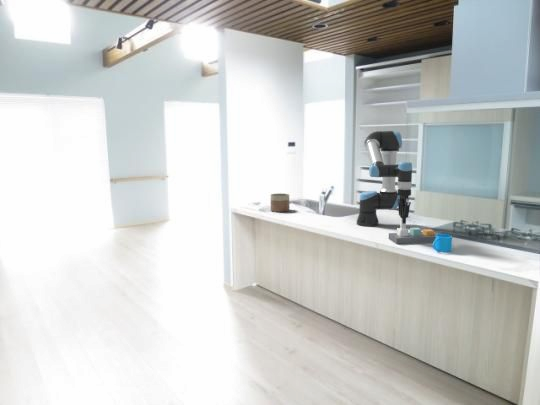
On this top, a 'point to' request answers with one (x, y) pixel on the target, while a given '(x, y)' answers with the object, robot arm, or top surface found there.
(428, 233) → the button orange
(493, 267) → the top surface
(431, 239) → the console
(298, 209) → the top surface
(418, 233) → the button teal
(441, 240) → the mug
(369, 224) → the robot arm
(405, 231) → the button white
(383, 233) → the top surface
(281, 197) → the planter
